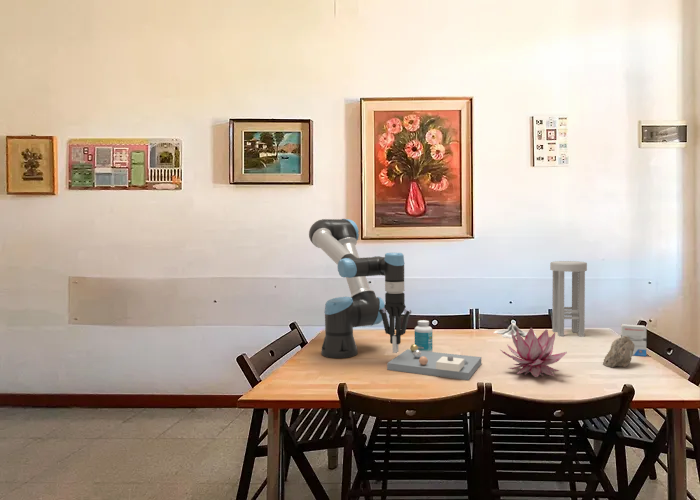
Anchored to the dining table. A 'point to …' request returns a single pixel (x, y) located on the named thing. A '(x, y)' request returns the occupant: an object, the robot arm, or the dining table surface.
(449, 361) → the cover
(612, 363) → the rock
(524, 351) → the decorative flower
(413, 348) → the brass ball
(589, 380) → the dining table surface
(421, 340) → the pill bottle
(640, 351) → the ink box
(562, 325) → the stool
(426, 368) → the board
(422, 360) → the clay ball
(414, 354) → the steel ball
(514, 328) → the cloth
